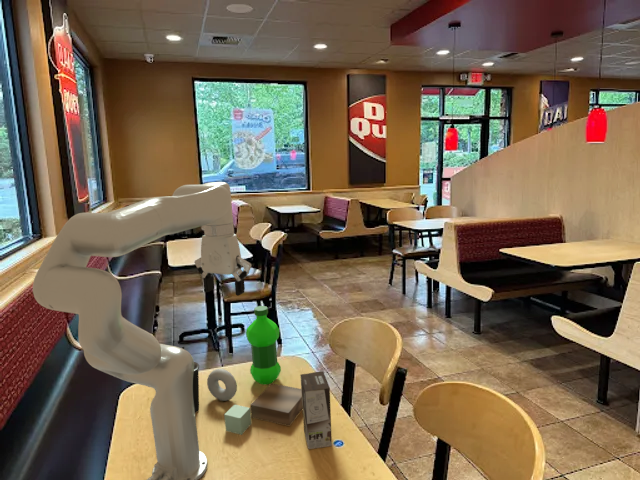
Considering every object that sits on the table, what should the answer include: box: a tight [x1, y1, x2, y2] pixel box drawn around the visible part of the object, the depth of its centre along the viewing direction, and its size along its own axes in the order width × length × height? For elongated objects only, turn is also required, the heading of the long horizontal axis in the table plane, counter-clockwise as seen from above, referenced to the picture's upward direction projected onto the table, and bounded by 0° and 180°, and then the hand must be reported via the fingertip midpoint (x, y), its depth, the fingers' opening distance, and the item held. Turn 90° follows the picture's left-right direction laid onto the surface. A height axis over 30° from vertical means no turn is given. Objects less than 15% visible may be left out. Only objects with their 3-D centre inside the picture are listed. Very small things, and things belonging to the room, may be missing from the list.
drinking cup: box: [181, 346, 200, 414], centre depth 128 cm, size 8×8×20 cm
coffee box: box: [299, 370, 333, 450], centre depth 114 cm, size 9×6×16 cm
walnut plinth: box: [250, 383, 303, 427], centre depth 128 cm, size 12×12×4 cm
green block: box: [224, 404, 252, 436], centre depth 121 cm, size 5×5×5 cm
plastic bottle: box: [245, 305, 282, 386], centre depth 142 cm, size 10×10×25 cm
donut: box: [206, 368, 238, 402], centre depth 134 cm, size 10×4×10 cm, turn 68°
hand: (224, 292), depth 119 cm, fingers open, 9 cm apart
